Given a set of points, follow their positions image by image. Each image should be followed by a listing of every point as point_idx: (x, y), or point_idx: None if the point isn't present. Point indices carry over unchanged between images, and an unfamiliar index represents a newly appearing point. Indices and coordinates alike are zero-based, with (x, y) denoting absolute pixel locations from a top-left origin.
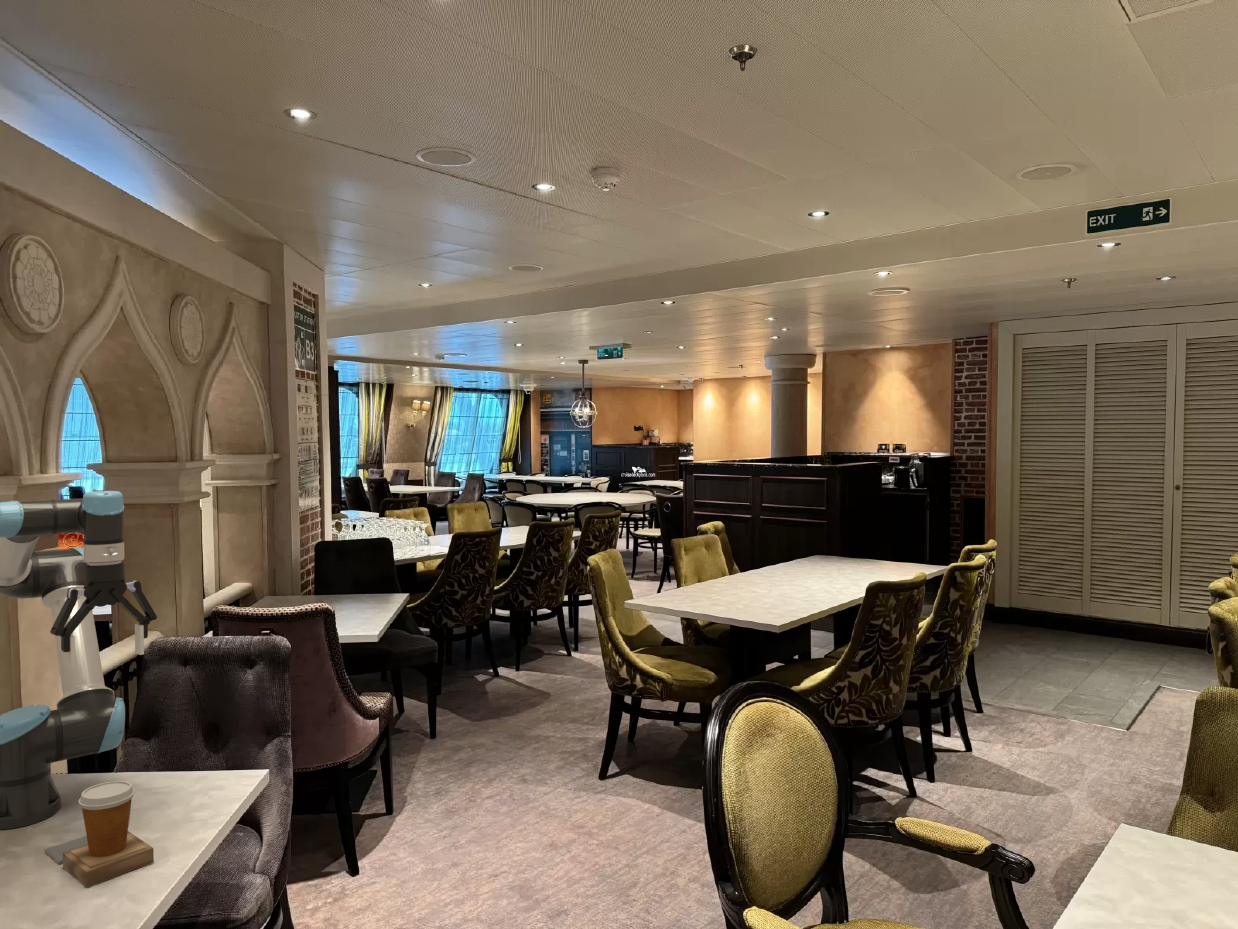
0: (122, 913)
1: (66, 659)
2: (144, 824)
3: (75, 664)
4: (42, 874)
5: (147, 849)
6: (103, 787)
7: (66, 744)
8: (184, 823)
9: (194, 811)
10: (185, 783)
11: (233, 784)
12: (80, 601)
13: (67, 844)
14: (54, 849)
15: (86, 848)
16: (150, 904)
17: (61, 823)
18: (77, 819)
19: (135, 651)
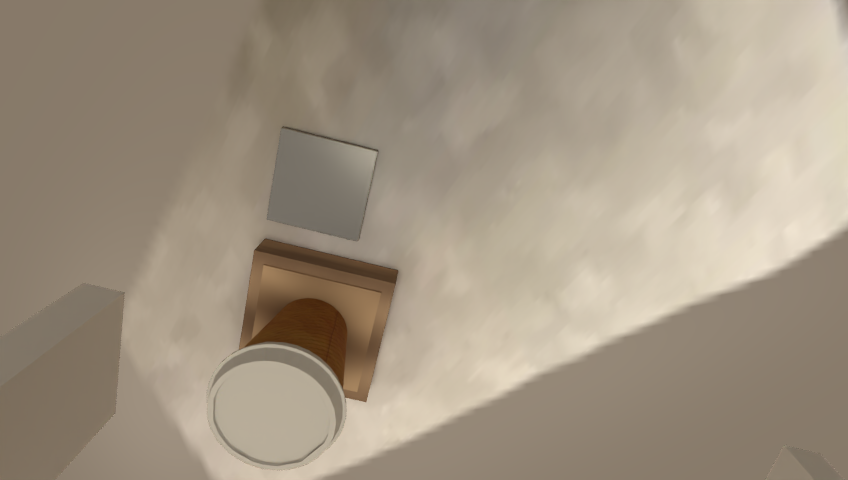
0: (232, 475)
1: (29, 319)
2: (489, 209)
3: (97, 432)
4: (227, 225)
5: (355, 397)
6: (283, 383)
7: None
8: (531, 291)
9: (592, 258)
10: (741, 72)
11: (771, 212)
12: None
13: (323, 154)
14: (293, 151)
15: (289, 286)
16: None
17: None
18: (437, 9)
19: (794, 463)
